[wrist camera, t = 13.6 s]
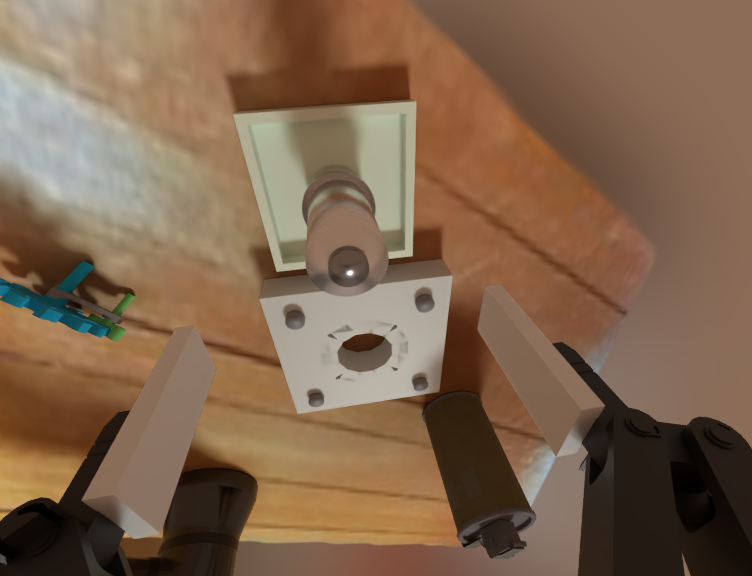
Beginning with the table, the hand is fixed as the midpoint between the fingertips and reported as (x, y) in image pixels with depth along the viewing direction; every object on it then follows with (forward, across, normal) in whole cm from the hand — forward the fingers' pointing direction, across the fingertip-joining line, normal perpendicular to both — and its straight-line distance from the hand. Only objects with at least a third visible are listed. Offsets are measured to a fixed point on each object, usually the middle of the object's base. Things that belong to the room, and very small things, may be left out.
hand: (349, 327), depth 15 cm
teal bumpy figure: (+20, -26, -7) cm, 33 cm away
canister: (+20, +16, -39) cm, 47 cm away
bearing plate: (+19, +2, -18) cm, 27 cm away
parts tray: (+19, 0, +1) cm, 19 cm away
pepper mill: (+18, 0, 0) cm, 18 cm away
